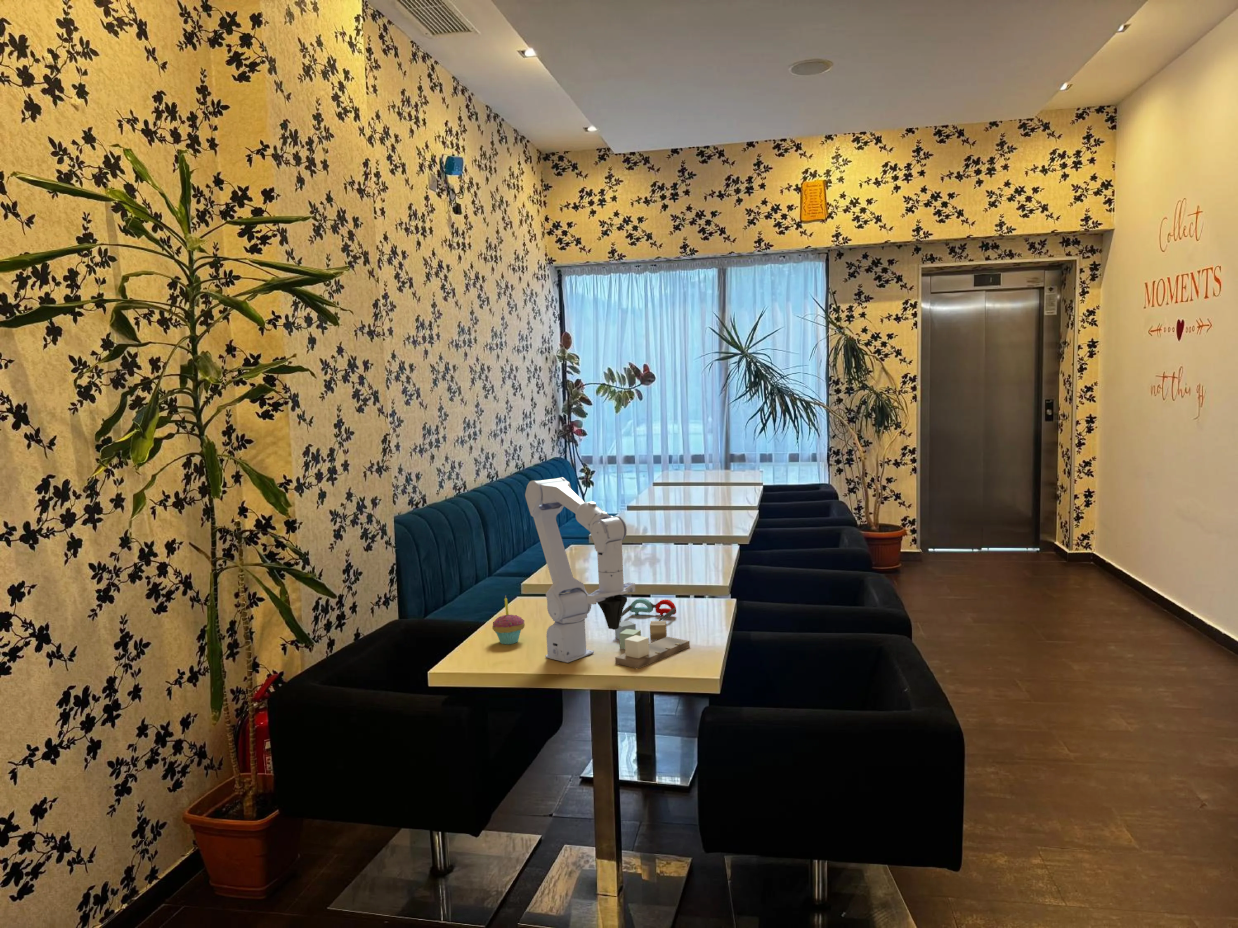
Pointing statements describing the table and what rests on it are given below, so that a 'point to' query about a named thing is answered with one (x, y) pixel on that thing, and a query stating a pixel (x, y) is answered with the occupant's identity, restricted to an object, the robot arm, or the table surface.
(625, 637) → the sage block
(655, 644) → the board
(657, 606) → the novelty glasses
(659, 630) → the oak block
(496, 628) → the cupcake
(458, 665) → the table surface
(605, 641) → the table surface
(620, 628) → the slate blue block
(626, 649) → the slider
